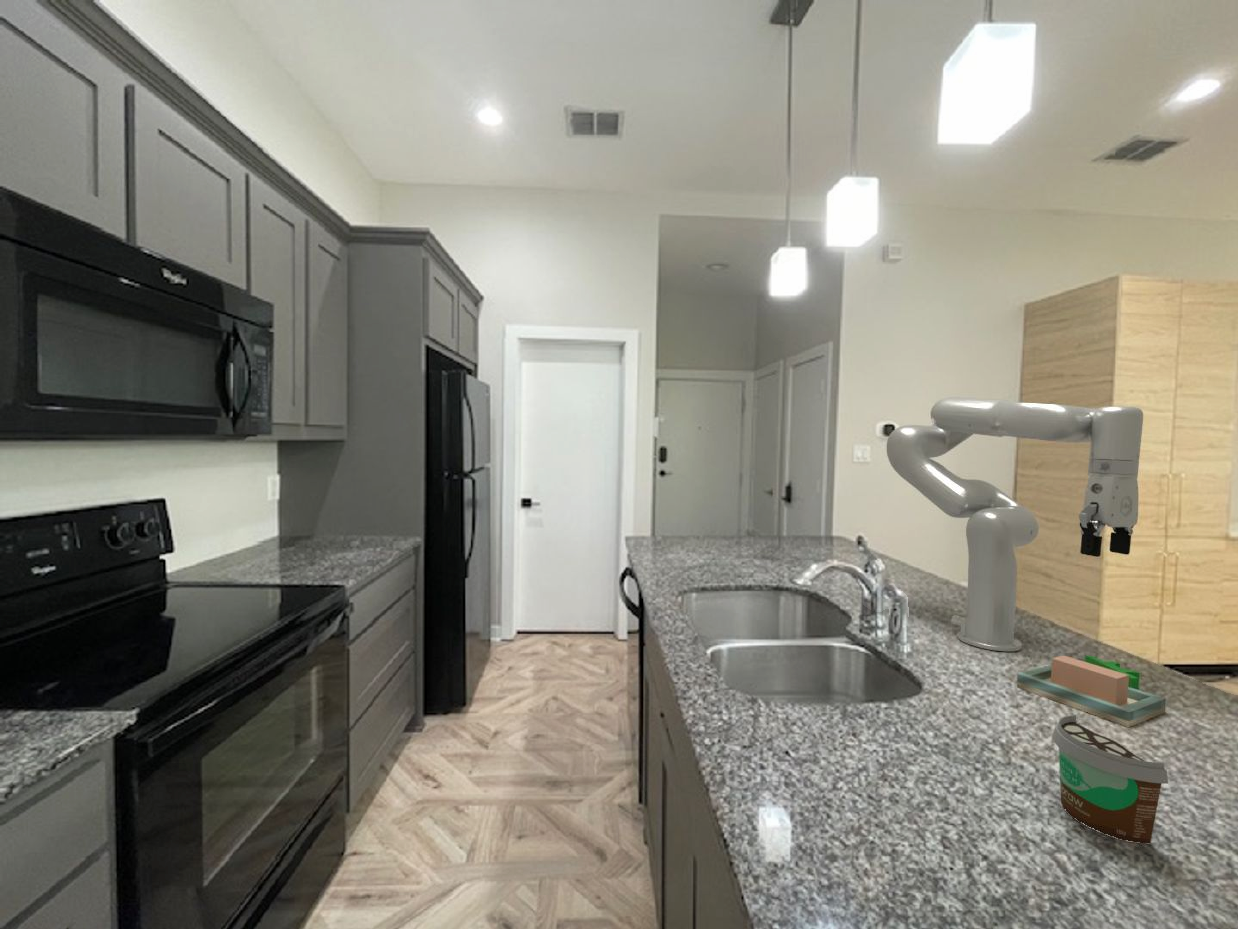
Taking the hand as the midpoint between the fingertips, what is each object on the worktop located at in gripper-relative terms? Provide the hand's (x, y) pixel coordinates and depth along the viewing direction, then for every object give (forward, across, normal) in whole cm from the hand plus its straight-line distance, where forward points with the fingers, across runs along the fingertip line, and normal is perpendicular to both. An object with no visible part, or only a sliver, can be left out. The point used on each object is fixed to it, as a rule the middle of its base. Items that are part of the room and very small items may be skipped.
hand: (1104, 554), depth 114 cm
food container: (+24, -54, -28) cm, 65 cm away
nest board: (+25, -15, -7) cm, 30 cm away
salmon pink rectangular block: (+24, -15, -7) cm, 29 cm away
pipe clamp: (+25, -4, -6) cm, 26 cm away
